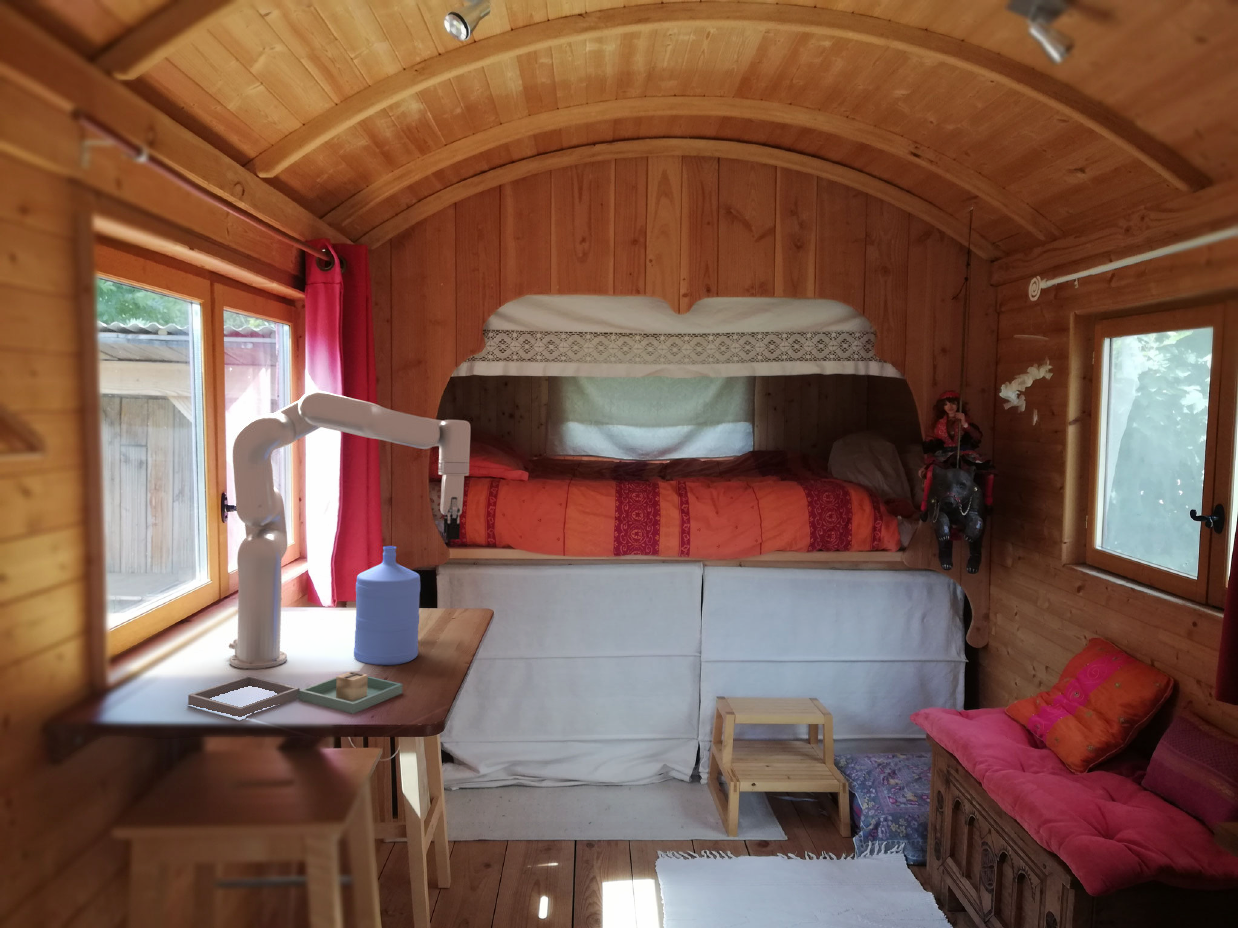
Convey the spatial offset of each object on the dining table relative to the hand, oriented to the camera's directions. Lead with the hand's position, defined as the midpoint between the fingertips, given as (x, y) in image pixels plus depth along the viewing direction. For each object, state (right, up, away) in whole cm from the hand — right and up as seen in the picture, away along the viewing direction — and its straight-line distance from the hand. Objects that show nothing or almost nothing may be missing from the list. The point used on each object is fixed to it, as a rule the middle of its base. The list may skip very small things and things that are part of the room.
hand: (451, 536), depth 211 cm
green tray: (-15, -32, -31) cm, 47 cm away
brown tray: (-36, -32, -37) cm, 60 cm away
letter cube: (-15, -32, -31) cm, 47 cm away
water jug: (-16, -31, -1) cm, 35 cm away
